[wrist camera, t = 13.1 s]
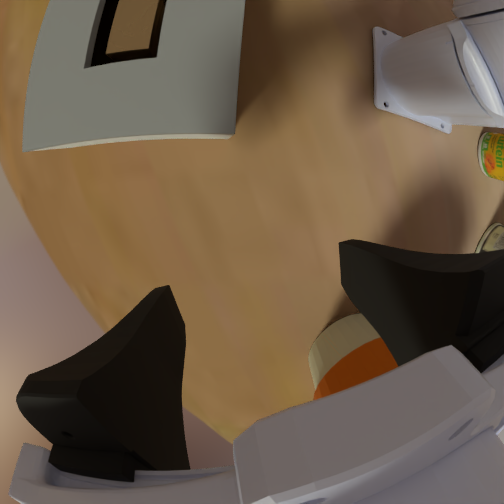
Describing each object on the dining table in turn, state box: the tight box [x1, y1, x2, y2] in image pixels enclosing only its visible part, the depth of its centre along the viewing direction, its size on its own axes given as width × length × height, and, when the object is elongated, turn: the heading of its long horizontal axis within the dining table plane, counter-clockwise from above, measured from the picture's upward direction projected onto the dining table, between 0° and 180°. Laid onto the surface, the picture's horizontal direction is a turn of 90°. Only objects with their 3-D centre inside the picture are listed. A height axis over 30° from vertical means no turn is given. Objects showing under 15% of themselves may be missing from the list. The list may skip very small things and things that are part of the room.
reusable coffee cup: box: [308, 313, 398, 400], centre depth 19 cm, size 13×13×15 cm
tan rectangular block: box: [106, 0, 165, 62], centre depth 12 cm, size 2×4×5 cm, turn 176°
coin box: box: [23, 0, 245, 152], centre depth 11 cm, size 12×14×6 cm
